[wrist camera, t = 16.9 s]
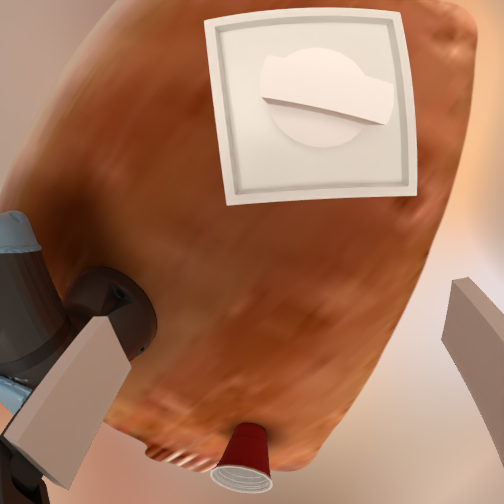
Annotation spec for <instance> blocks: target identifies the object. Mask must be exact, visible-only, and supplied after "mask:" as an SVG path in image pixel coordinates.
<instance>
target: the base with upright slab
mask: <svg viewBox="0 0 504 504" xmlns="http://www.w3.org/2000/svg"><path fill="white" fill-rule="evenodd" d="M260 96H261V98H262V99H263V100H265V101H266V102H267V103H268V107H269V111H270V114H271V115H272V117H273V119H274V121H275V123H276V124H277V126H278V127H279V128H280V129H281V130H282V131H283V132H284V133H285V134H286V135H288V136H289V137H291V138H292V139H294V140H295V141H297V142H299V143H302V144H305V145H308V146H311V147H320V148H327V147H334V146H339V145H341V144H343V143H346V142H348V141H350V140H351V139H353V138H354V137H355V136H356V135H357V134H359V133H360V132H361V130H362V129H363V128H364V126H365V125H386V124H387V123H388V121H389V119H390V116H391V113H392V109H393V106H394V86H393V84H391V83H388V82H385V81H382V80H379V79H375V78H372V77H369V76H365V75H364V73H363V71H362V70H361V69H360V68H359V67H358V66H357V65H356V63H355V62H354V61H352V60H351V59H349V58H348V57H346V56H345V55H343V54H342V53H339V52H336V51H333V50H331V49H326V48H316V47H314V48H307V49H301V50H299V51H296V52H294V53H292V54H290V55H288V56H287V57H285V58H284V57H277V56H270V55H268V56H267V57H266V59H265V61H264V64H263V68H262V71H261V74H260Z"/></svg>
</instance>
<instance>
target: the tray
mask: <svg viewBox="0 0 504 504" xmlns="http://www.w3.org/2000/svg"><path fill="white" fill-rule="evenodd" d="M204 25H205V35H206V44H207V53H208V62H209V70H210V79H211V87H212V96H213V104H214V112H215V120H216V128H217V136H218V144H219V151H220V159H221V167H222V174H223V182H224V189H225V196H226V204H227V205H239V204H251V203H264V202H278V201H293V200H310V199H329V198H352V197H382V196H417V140H416V121H415V108H414V97H413V87H412V79H411V71H410V64H409V57H408V51H407V45H406V40H405V34H404V29H403V24H402V20H401V15H400V12H393V11H384V10H373V9H358V8H295V9H280V10H269V11H260V12H252V13H244V14H237V15H231V16H225V17H220V18H214V19H209V20H204ZM314 47H316V48H326V49H331V50H333V51H336V52H339V53H342V54H343V55H345V56H346V57H348V58H349V59H351V60H352V61H354V62H355V63H356V65H357V66H358V67H359V68H360V69H361V70H362V71H363V73H364V75H365V76H369V77H372V78H375V79H379V80H382V81H385V82H388V83H391V84H393V86H394V106H393V109H392V113H391V116H390V119H389V121H388V123H387V124H386V125H365V126H364V128H363V129H362V130H361V132H360V133H359V134H357V135H356V136H355V137H354V138H353V139H351V140H350V141H348V142H346V143H343V144H341V145H339V146H334V147H327V148H320V147H311V146H308V145H305V144H302V143H299V142H297V141H295V140H294V139H292V138H291V137H289V136H288V135H286V134H285V133H284V132H283V131H282V130H281V129H280V128H279V127H278V126H277V124H276V123H275V121H274V119H273V117H272V115H271V114H270V111H269V107H268V103H267V102H266V101H265V100H263V99H262V98H261V96H260V74H261V71H262V68H263V64H264V61H265V59H266V57H267V56H268V55H270V56H277V57H284V58H285V57H287V56H288V55H290V54H292V53H294V52H296V51H299V50H301V49H307V48H314Z"/></svg>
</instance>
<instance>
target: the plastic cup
mask: <svg viewBox="0 0 504 504" xmlns="http://www.w3.org/2000/svg"><path fill="white" fill-rule="evenodd" d="M210 476H211V478H212V479H213V481H215V482H216V483H217V484H219V485H220V486H223V487H225V488H227V489H230V490H233V491H238V492H243V493H262V492H265V491H268V490H270V489H271V488H272V486H273V482H272V479H271V476H270V470H269V458H268V446H267V439H266V433H265V429H264V428H262V427H261V426H259V425H257V424H252V423H244V424H240V425H238V426H237V427H236V429H235V431H234V433H233V435H232V438H231V439H230V441H229V443H228V445H227V447H226V450H225V452H224V454H223V456H222V458H221V460H220V461H219V463H218V464H217V466H216V467H215V468H213V469H212V470H211V472H210Z"/></svg>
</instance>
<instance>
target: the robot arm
mask: <svg viewBox="0 0 504 504" xmlns="http://www.w3.org/2000/svg"><path fill="white" fill-rule="evenodd" d="M41 249H42V248H41V245H40V244H38V242H37V240H36V237H35V235H34V232H33V229H32V227H31V224H30V222H29V219H28V218H27V216H26V215H25V214H24V213H22V212H20V211H17V210H12V211H8V212H4V213H1V214H0V402H1V403H2V404H3V405H4V406H5V407H6V408H7V409H8V410H9V411H10V412H11V413H12V414H13V415H14V416H13V418H12V419H11V421H10V422H9V423H8V425H7V426H6V428H5V429H4V431H3V432H2V434H1V435H0V504H50V501H49V497H48V492H47V487H46V484H45V482H44V481H43V480H42V479H41V478H42V476H43V475H44V476H46V477H47V478H48V479H49V480H50V481H52V482H53V483H54V484H56V485H59V486H61V487H63V488H65V489H68V490H69V488H70V486H71V484H72V482H73V480H74V478H75V476H76V474H77V471H78V470H79V468H80V466H81V463H82V461H83V459H84V457H85V455H86V453H87V451H88V449H89V447H90V445H91V443H92V441H93V439H94V437H95V435H96V433H97V431H98V430H99V427H100V426H101V424H102V422H103V420H104V418H105V416H106V414H107V412H108V410H109V408H110V407H111V405H112V403H113V401H114V399H115V397H116V395H117V393H118V392H119V390H120V388H121V386H122V384H123V382H124V380H125V379H126V377H127V375H128V373H129V371H130V370H131V368H132V367H131V365H130V363H129V362H130V361H131V360H133V359H134V358H135V357H136V356H138V355H140V354H141V353H143V352H144V351H145V350H146V349H147V347H148V346H149V344H150V343H151V341H152V339H153V338H154V336H155V333H156V326H157V324H156V316H155V313H154V310H153V307H152V305H151V303H150V301H149V300H148V298H147V296H146V295H145V294H144V292H143V291H142V290H141V289H140V288H139V287H138V286H137V285H136V284H135V283H134V282H133V281H132V280H131V279H129V278H128V277H127V276H125V275H123V274H122V273H120V272H118V271H116V270H113V269H110V268H106V267H92V268H89V269H86V270H85V271H83V272H82V273H81V274H80V275H78V276H77V277H76V278H75V279H74V280H73V281H72V283H71V284H70V286H69V288H68V291H67V293H66V295H65V297H64V299H63V301H62V302H61V299H60V297H59V295H58V293H57V291H56V289H55V286H54V284H53V282H52V279H51V277H50V274H49V272H48V269H47V267H46V264H45V261H44V259H43V256H42V253H41V251H40V250H41ZM441 340H442V342H443V344H444V345H445V347H446V349H447V351H448V352H449V354H450V355H451V357H452V359H453V361H454V363H455V365H456V366H457V368H458V370H459V372H460V373H461V375H462V377H463V379H464V381H465V383H466V385H467V387H468V389H469V391H470V393H471V395H472V397H473V399H474V401H475V403H476V405H477V407H478V409H479V411H480V413H481V415H482V417H483V419H484V422H485V424H486V426H487V428H488V430H489V432H490V435H491V437H492V439H493V442H494V444H495V447H496V449H497V451H498V454H499V456H500V459H501V462H502V464H503V467H504V314H503V313H502V312H501V311H500V310H499V309H498V308H497V307H496V305H495V304H494V303H493V302H492V301H491V300H490V299H489V298H488V297H487V296H486V295H485V294H484V293H483V292H482V290H481V289H480V288H479V287H478V286H477V285H476V284H475V283H474V282H473V281H472V280H471V279H470V278H469V277H466V278H462V279H456V280H452V286H451V292H450V299H449V304H448V310H447V315H446V320H445V325H444V330H443V335H442V339H441Z"/></svg>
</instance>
